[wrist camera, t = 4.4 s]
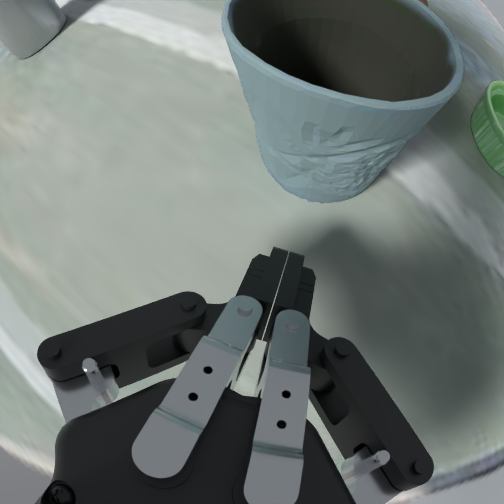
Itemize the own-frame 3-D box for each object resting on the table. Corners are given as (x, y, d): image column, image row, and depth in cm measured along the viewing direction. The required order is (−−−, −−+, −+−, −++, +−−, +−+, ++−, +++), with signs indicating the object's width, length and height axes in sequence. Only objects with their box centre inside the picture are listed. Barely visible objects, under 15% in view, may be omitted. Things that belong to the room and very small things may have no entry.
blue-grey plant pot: (391, 218, 19) (497, 131, 7) (243, 213, 20) (204, 100, 8) (374, 98, 21) (420, -16, 9) (248, 92, 22) (230, -37, 10)
